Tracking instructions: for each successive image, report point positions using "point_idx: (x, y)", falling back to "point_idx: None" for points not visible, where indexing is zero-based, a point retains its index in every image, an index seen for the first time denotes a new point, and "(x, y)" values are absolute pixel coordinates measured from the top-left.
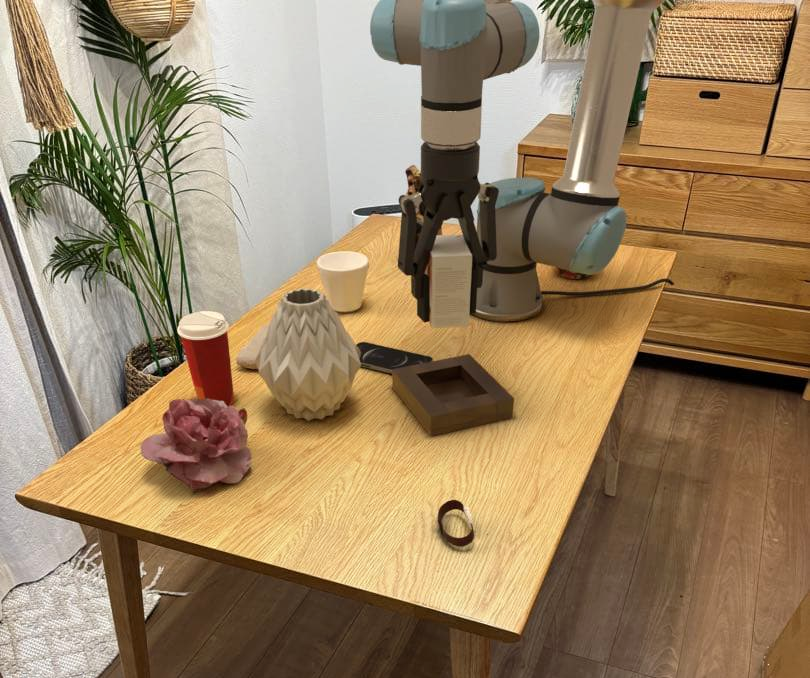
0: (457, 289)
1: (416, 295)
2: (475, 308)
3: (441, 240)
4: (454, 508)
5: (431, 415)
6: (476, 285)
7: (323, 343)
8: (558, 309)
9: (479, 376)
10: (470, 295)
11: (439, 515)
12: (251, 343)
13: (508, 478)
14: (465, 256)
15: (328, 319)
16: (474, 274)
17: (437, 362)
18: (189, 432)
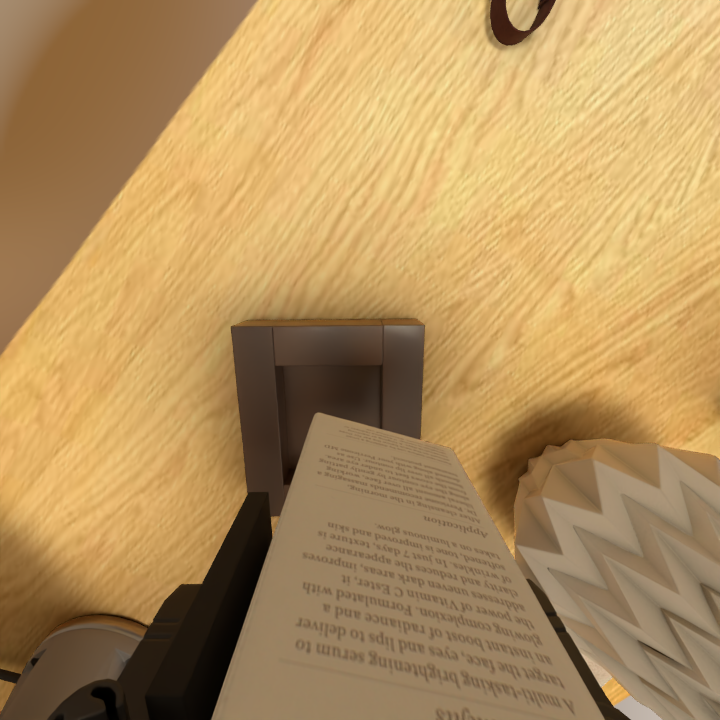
0: (367, 531)
1: (540, 597)
2: (246, 502)
3: None
4: (500, 37)
5: (421, 329)
6: (204, 587)
7: (712, 542)
8: (15, 627)
9: (265, 431)
10: (248, 555)
11: (547, 9)
12: (600, 680)
13: (342, 123)
14: None
15: (717, 627)
16: (188, 656)
17: None
18: None
